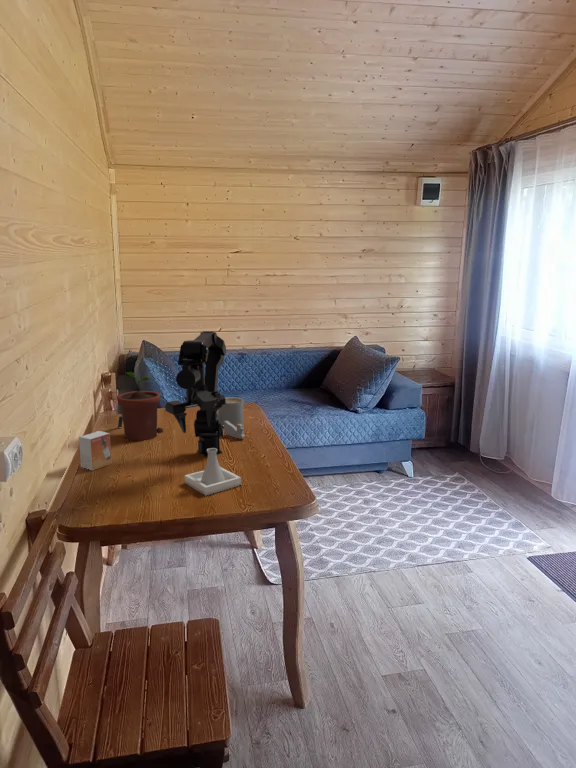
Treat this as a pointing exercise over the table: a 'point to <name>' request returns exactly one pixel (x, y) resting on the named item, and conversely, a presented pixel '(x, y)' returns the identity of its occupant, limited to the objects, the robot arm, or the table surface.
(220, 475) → the flask
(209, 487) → the shaker caddy
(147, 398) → the potted plant
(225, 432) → the grey tape dispenser
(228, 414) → the coffee mug
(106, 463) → the small box
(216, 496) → the table surface
